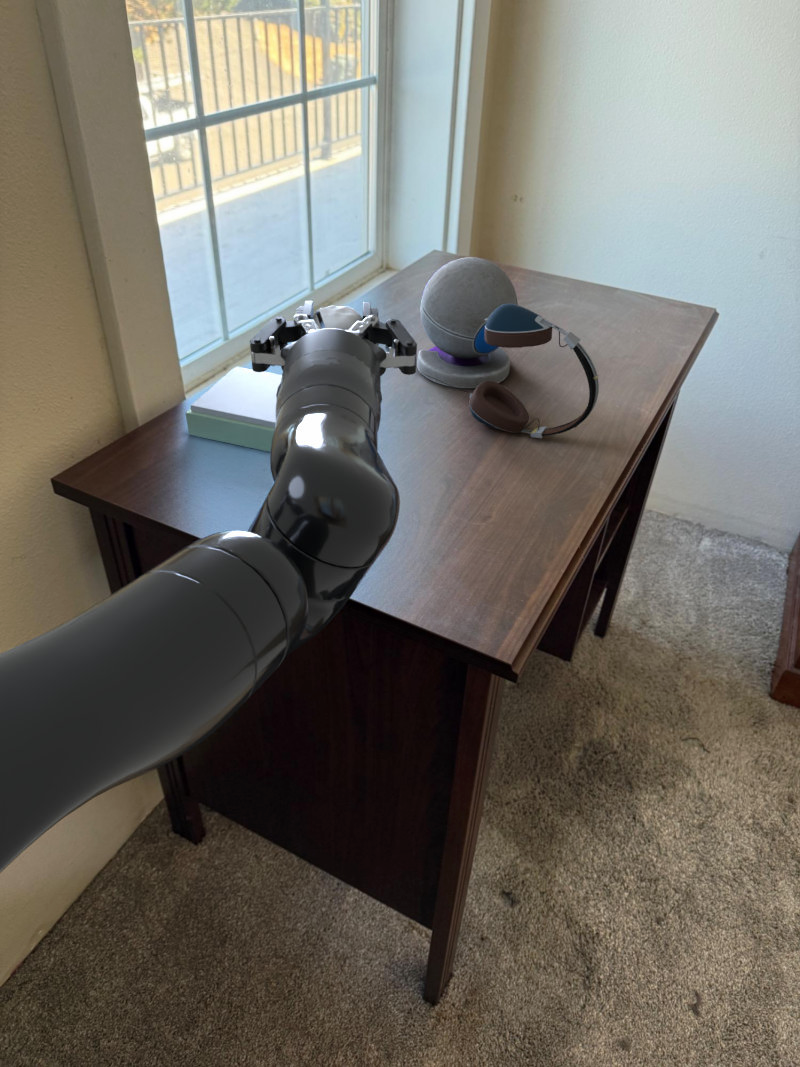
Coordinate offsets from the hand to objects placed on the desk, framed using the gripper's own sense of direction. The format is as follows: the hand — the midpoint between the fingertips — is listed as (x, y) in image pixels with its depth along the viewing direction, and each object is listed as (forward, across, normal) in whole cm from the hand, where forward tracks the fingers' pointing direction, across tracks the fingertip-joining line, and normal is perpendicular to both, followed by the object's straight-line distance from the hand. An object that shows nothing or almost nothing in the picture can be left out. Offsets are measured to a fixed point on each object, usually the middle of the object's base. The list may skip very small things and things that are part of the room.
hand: (338, 312), depth 68 cm
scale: (+15, -11, -20) cm, 27 cm away
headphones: (+15, +19, -20) cm, 31 cm away
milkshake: (-3, 0, -8) cm, 9 cm away
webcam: (+30, +16, -20) cm, 40 cm away
